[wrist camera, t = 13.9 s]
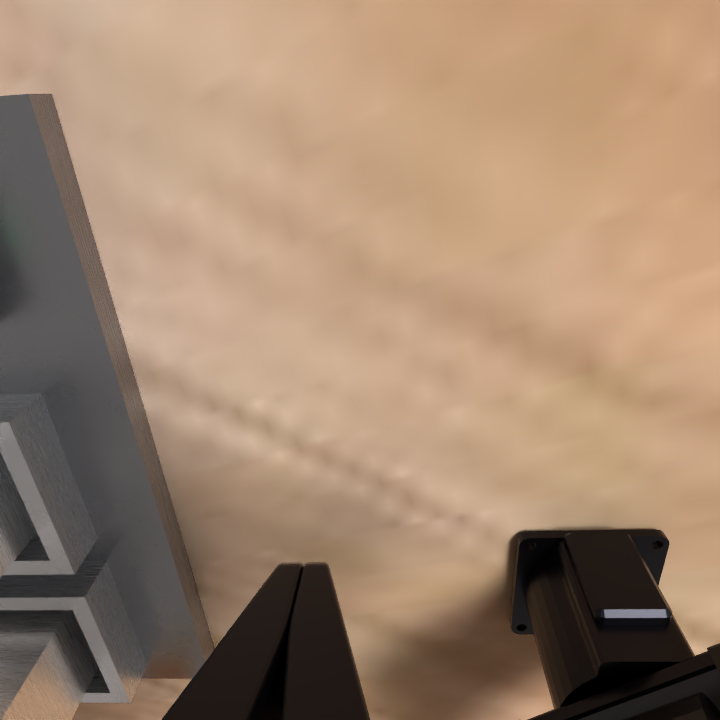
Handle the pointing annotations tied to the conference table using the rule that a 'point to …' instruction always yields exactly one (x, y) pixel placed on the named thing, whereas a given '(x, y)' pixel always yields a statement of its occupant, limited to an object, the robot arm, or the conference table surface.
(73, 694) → the block
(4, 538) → the aluminium block
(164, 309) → the conference table surface
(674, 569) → the conference table surface
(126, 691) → the dark grey fixture board
